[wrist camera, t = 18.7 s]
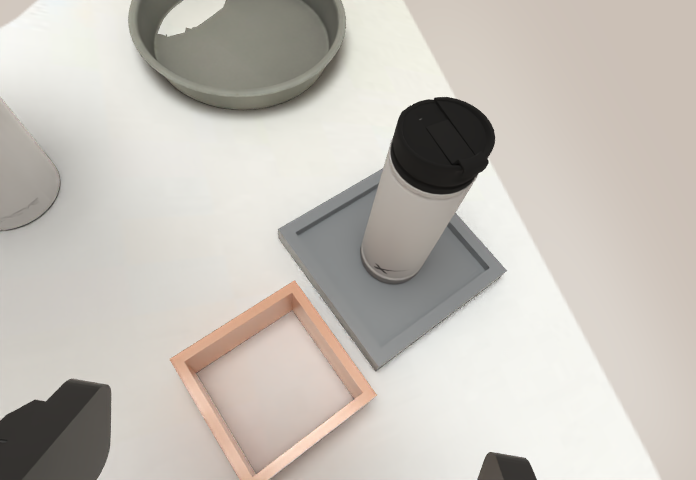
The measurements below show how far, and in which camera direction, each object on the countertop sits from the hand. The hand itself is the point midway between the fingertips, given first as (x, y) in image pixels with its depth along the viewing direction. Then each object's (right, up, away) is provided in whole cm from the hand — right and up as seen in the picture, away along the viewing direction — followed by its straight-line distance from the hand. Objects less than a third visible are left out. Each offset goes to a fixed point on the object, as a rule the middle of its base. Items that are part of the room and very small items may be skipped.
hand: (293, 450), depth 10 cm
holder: (-5, -8, +32) cm, 33 cm away
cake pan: (-12, +29, +49) cm, 58 cm away
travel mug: (+5, +3, +37) cm, 38 cm away
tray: (+5, +3, +38) cm, 39 cm away
